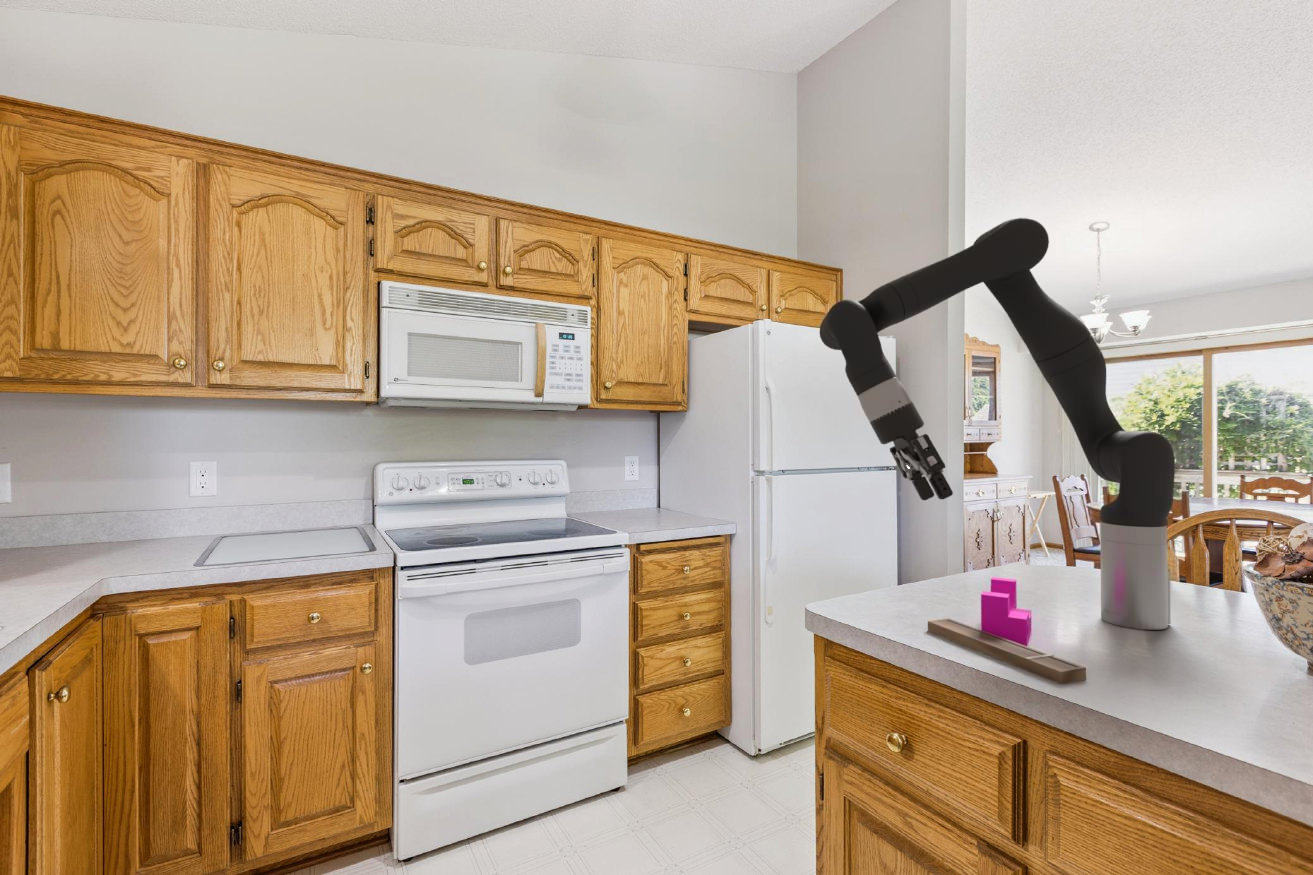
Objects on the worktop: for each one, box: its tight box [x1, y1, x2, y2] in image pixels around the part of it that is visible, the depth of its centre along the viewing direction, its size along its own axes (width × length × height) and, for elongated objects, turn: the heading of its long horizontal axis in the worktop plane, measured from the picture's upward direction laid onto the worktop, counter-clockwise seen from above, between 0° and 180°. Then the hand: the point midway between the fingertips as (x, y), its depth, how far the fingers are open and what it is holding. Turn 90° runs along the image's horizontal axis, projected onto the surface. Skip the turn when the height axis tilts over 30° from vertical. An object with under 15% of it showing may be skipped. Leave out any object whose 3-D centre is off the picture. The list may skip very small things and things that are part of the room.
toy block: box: [980, 576, 1032, 647], centre depth 104 cm, size 15×6×8 cm, turn 146°
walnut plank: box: [927, 618, 1087, 685], centre depth 94 cm, size 4×24×2 cm, turn 18°
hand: (937, 498), depth 102 cm, fingers open, 8 cm apart
